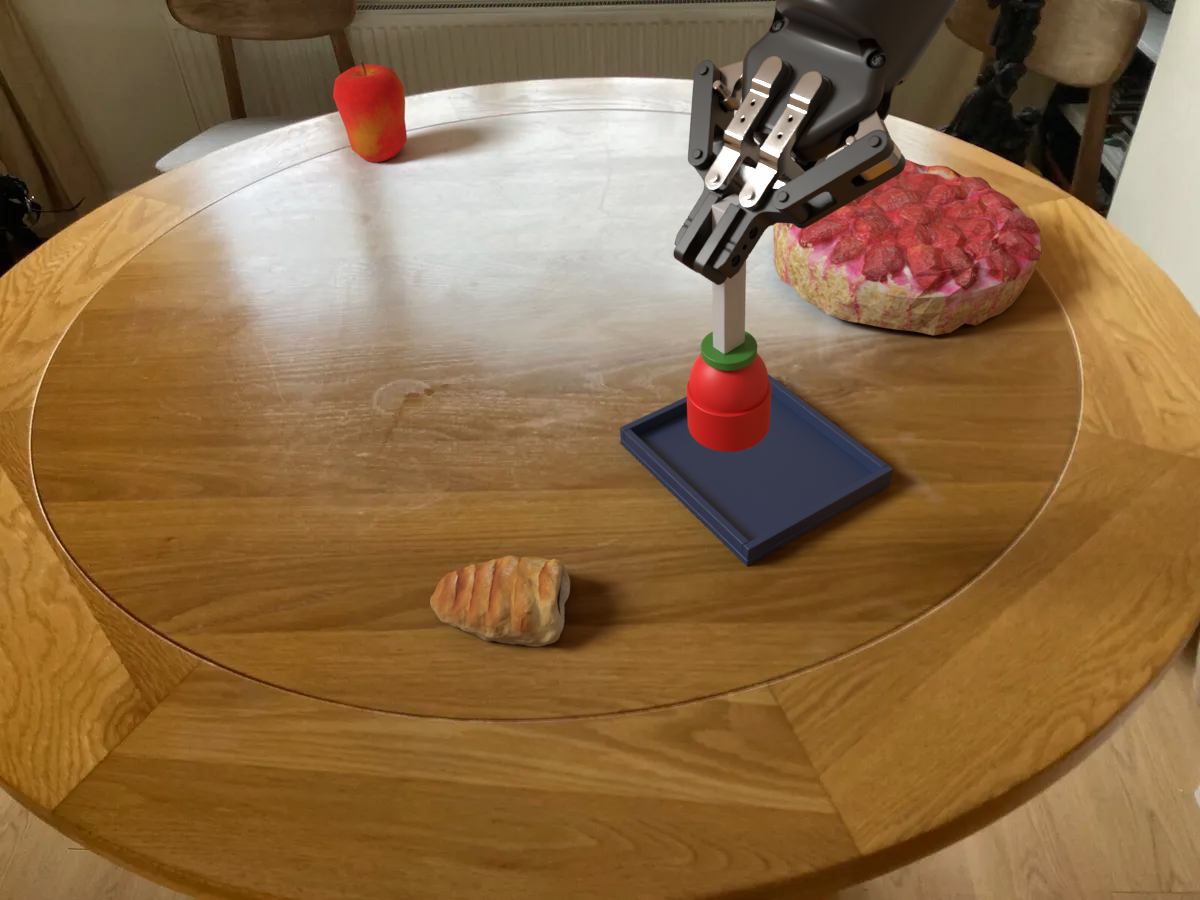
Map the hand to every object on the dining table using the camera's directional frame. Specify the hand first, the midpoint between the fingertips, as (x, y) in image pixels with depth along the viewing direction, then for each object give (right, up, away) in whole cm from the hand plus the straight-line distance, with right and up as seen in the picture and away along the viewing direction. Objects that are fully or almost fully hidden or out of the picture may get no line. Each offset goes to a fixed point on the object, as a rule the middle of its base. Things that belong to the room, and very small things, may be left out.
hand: (696, 270), depth 49 cm
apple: (-33, +28, +72) cm, 84 cm away
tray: (+7, -10, +27) cm, 30 cm away
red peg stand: (+3, -8, +10) cm, 13 cm away
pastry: (-11, -21, +17) cm, 29 cm away
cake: (+25, +9, +48) cm, 54 cm away
